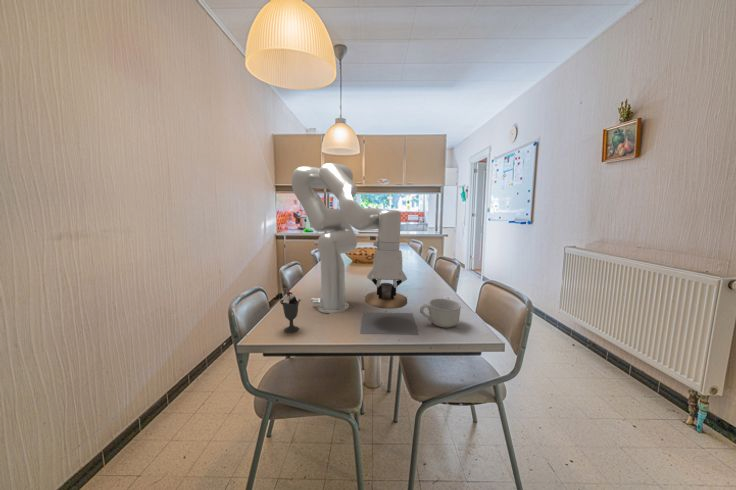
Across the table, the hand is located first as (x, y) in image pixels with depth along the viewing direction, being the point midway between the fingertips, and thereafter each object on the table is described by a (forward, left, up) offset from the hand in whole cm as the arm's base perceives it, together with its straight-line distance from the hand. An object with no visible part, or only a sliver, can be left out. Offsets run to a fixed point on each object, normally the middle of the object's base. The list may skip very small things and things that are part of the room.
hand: (386, 296), depth 101 cm
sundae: (-32, -7, -10) cm, 34 cm away
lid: (0, 0, -1) cm, 1 cm away
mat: (+1, -1, -10) cm, 10 cm away
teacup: (+19, -1, -10) cm, 21 cm away
